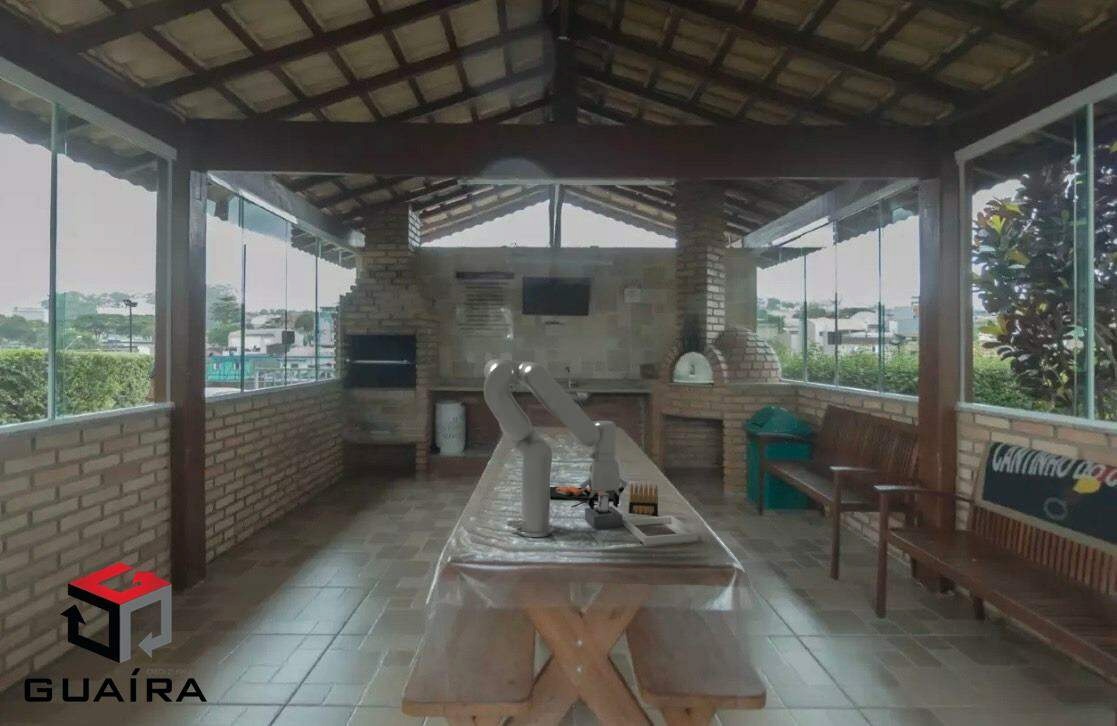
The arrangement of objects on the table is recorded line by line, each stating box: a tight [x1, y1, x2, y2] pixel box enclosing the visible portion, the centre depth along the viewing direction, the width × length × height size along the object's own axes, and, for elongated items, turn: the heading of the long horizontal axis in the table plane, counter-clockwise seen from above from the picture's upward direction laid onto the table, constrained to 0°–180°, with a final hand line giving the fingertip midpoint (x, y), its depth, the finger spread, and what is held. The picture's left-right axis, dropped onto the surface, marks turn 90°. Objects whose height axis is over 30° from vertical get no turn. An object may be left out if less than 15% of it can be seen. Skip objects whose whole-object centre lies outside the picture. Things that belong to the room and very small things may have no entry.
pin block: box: [584, 505, 623, 530], centre depth 201 cm, size 10×10×5 cm
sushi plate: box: [550, 486, 614, 508], centre depth 230 cm, size 29×30×4 cm
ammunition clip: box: [628, 482, 659, 517], centre depth 212 cm, size 11×2×12 cm, turn 83°
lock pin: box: [597, 493, 610, 514], centre depth 201 cm, size 4×4×10 cm
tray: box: [623, 515, 698, 548], centre depth 192 cm, size 18×18×3 cm
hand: (603, 506), depth 201 cm, fingers open, 8 cm apart
